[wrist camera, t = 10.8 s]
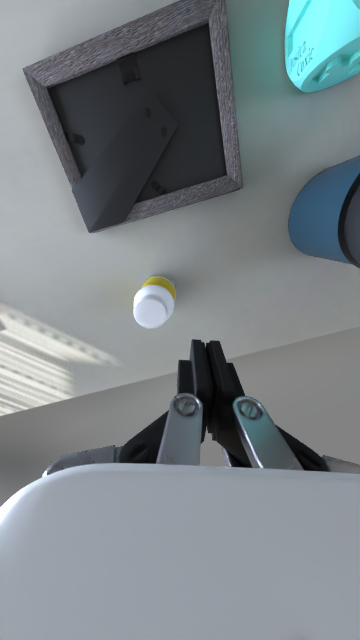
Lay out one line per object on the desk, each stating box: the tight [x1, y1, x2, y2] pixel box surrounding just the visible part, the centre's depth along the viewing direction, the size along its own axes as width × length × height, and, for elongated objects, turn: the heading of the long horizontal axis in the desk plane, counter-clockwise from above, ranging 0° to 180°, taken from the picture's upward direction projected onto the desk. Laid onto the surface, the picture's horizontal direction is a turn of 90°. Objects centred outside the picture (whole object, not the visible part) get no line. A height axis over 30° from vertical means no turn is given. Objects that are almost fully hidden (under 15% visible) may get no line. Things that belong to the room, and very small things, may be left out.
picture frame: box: [23, 0, 243, 233], centre depth 22 cm, size 16×2×21 cm
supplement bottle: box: [134, 275, 176, 329], centre depth 27 cm, size 5×5×10 cm
